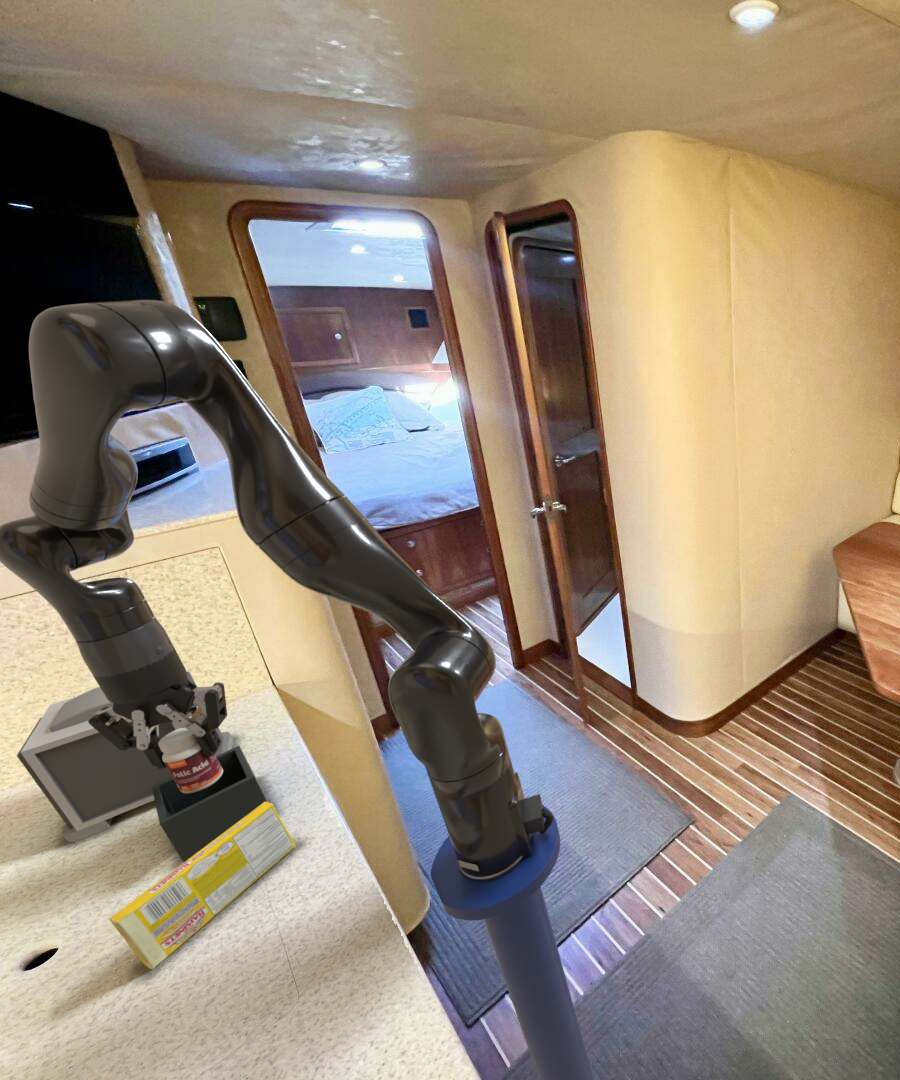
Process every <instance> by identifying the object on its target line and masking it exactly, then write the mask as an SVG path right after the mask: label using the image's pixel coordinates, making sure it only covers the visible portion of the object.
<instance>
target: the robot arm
mask: <svg viewBox="0 0 900 1080" xmlns="http://www.w3.org/2000/svg"><path fill="white" fill-rule="evenodd" d="M28 359H29V369H30V378H31V385H32V396H33V403H34V409H35V410H34V411H35V417H36V424H37V430H38V437H39V454H38V460H37V465H36V468H35V470H34V475H33V478H32V479H33V480H32V484H31V487H30V491H29V497H28V502H29V507H30V510H31V512H32V513H33V515H32V516H28V517H24V518H23V517H22V518H19V519H15V520H11V521H8V522H5V523H3V524H1V525H0V563H1V564H2V565H3V566H4V567H5V568H6V569H8V570H9V571H10V572H11V573H12V574H13V575H15V576H17V578H19V579H20V580H22V581H23V582H24V583H26V584H27V585H28V586H30V588H32V589H33V590H34V591H36V592H37V593H38V594H39V595H40V596H41V597H43V599H44V600H46V602H47V603H48V604H49V605H51V607H52V608H53V609H54V610H55V611H56V612H57V613H58V615H59V616H60V617H61V619H62V621H63V622H64V624H65V626H66V627H67V629H68V631H69V632H70V634H71V636H72V637H73V639H74V641H75V643H76V645H77V647H78V650H79V653H80V656H81V659H82V660H83V662H84V663H85V665H86V667H87V669H88V670H89V671H90V673H91V675H92V676H93V679H94V680H95V682H96V683H97V684H98V687H100V688H101V690H102V691H103V693H104V695H105V696H106V698H107V699H108V701H110V702H112V703H113V706H112V707H103V708H102V709H101V710H100V711H98V712H97V713H96V714H95V715H94V716H93V717H92V718H91V719H90V720H89V721H88V722H89V724H90V725H91V726H92V727H94V728H95V729H96V730H97V731H98V732H99V733H101V734H102V735H103V736H104V737H105V738H106V739H108V740H109V741H110V742H111V743H112V744H113V745H115V746H116V747H117V748H118V749H119V750H123V751H124V750H128V749H129V748H138V749H139V750H143V751H144V753H145V755H146V756H147V758H148V760H149V761H150V763H151V764H152V765H153V766H157V767H158V769H162V768H166V765H165V764H164V762H163V760H162V755H163V752H162V751H161V749H160V747H159V745H158V743H159V741H160V740H161V739H162V738H158V736H159V724H161V723H167V722H174V723H176V724H177V725H178V726H179V727H181V728H187V729H188V730H189V731H191V732H192V733H193V734H194V735H196V736H197V737H196V740H197V742H198V744H199V745H200V747H201V749H202V751H203V753H204V755H205V756H206V757H210V756H213V755H215V753H216V752H217V750H218V749H219V747H220V745H221V742H222V741H221V739H220V737H219V735H218V734H217V732H216V730H215V729H217V728H220V726H221V724H222V723H223V722H224V721H225V719H226V718H227V716H228V709H227V700H226V691H225V685H224V683H222V682H215V683H213V685H212V686H198V685H197V684H196V683H195V684H196V685H195V684H194V683H192V682H191V681H189V679H188V677H187V672H188V671H187V669H186V667H185V665H184V663H183V661H182V659H181V657H180V656H179V654H178V652H177V650H176V648H175V646H174V644H173V643H172V640H171V639H170V636H169V635H168V632H167V631H166V630H165V627H164V626H163V625H162V624H161V623H160V622H159V619H157V618H156V616H155V614H154V612H153V610H152V608H151V607H150V605H149V603H148V600H147V599H146V597H145V595H144V593H143V591H142V590H141V588H140V587H139V585H138V583H137V582H136V581H134V580H133V579H131V578H129V577H109V578H103V579H96V580H91V581H84V582H80V581H79V580H77V579H76V578H75V577H73V575H72V574H71V572H74V571H77V570H80V569H83V568H87V567H89V566H93V565H97V564H100V563H102V562H105V561H108V560H111V559H114V558H117V557H119V556H121V555H122V554H124V553H126V551H128V550H129V549H130V548H131V547H132V545H134V544H133V543H134V541H135V534H134V531H133V528H132V525H131V522H130V516H129V512H128V506H129V504H130V501H131V499H132V496H133V494H134V491H135V489H136V486H137V483H138V477H139V476H138V475H139V469H138V464H137V462H136V459H135V457H134V456H133V454H132V453H131V451H130V450H129V448H127V447H126V446H125V445H124V444H123V443H122V442H121V441H120V440H119V439H117V437H116V436H114V435H113V434H112V433H111V432H112V431H113V428H114V427H115V425H116V424H117V422H119V420H120V419H121V418H122V417H123V416H124V415H125V414H126V413H128V412H134V411H144V410H148V409H149V410H150V409H152V408H156V407H157V408H158V407H160V406H166V405H170V404H174V403H178V402H184V403H185V404H187V406H189V407H190V408H191V409H192V410H193V411H194V412H195V413H197V415H199V417H200V418H201V419H202V420H203V422H204V423H206V425H207V426H208V428H209V429H210V430H211V431H212V433H213V434H214V435H215V437H216V438H217V439H218V441H219V442H220V445H221V446H222V447H223V449H224V452H225V454H226V458H227V460H228V464H229V470H230V479H231V484H232V493H233V497H234V499H233V500H234V504H235V509H236V512H237V513H236V514H237V517H238V520H239V523H240V525H241V527H242V530H243V531H244V533H245V534H246V536H247V538H249V539H250V541H251V542H252V543H253V544H254V545H255V546H256V547H258V549H259V550H260V552H262V553H263V554H264V555H265V556H266V557H267V558H268V559H269V560H270V561H271V562H273V564H274V565H275V566H276V567H278V568H279V570H280V571H281V572H283V574H284V575H286V577H288V578H289V579H290V580H292V581H293V582H294V583H295V584H297V585H299V586H301V587H302V588H305V589H307V590H309V591H311V592H313V593H315V594H319V595H321V596H323V597H326V598H329V599H332V600H335V601H338V602H340V603H343V604H346V605H349V606H352V607H355V608H358V609H360V610H362V611H365V612H367V613H369V614H372V615H373V616H375V617H377V618H379V620H381V621H383V622H384V623H385V624H387V625H388V626H389V627H390V628H392V630H394V631H395V632H396V633H397V634H398V636H400V637H401V638H402V639H403V641H405V642H406V643H407V645H408V646H409V647H410V648H411V649H412V652H411V653H410V654H409V655H408V656H407V657H405V659H404V660H403V661H402V662H401V663H400V664H399V665H398V666H397V668H396V669H394V671H393V672H392V674H391V676H390V678H389V682H388V689H387V691H388V698H389V702H390V703H389V704H390V706H391V710H392V712H393V713H394V716H395V719H396V721H397V723H398V725H399V727H400V730H401V732H402V734H403V736H404V738H405V742H406V744H407V745H408V748H409V750H410V751H411V753H412V754H413V756H414V757H415V758H416V759H417V760H418V761H419V762H420V763H421V764H422V765H423V766H424V768H425V771H426V774H427V776H428V779H429V782H430V785H431V788H432V790H433V794H434V795H435V796H434V797H435V800H436V802H437V805H438V808H439V810H440V814H441V817H442V819H443V822H444V825H445V828H446V830H447V833H448V836H450V839H451V842H452V845H453V848H454V850H455V853H456V856H457V860H458V864H459V867H460V870H461V872H462V874H463V875H464V876H465V877H466V878H467V879H469V880H472V881H476V882H486V881H491V880H494V879H497V878H500V877H502V876H504V875H506V874H507V873H509V872H510V871H512V870H513V869H514V868H515V867H517V866H518V865H519V864H520V863H521V861H522V860H524V859H526V858H528V857H531V856H532V833H536V832H540V833H541V834H544V833H545V832H546V830H547V829H548V828H549V827H550V826H551V824H552V822H553V815H554V814H553V812H552V811H551V810H550V811H551V812H552V813H551V812H550V811H548V810H546V809H545V808H543V805H544V804H543V801H542V797H541V794H540V793H538V794H535V795H532V796H529V797H525V794H524V790H523V787H522V783H521V779H520V776H519V773H518V772H517V771H514V766H513V763H512V760H511V755H510V752H509V748H508V744H507V740H506V736H505V732H504V729H503V726H502V724H501V722H500V721H499V719H498V718H496V716H494V715H492V714H489V713H485V712H478V709H477V706H476V702H477V701H478V699H479V697H480V696H481V694H482V693H483V692H484V690H485V688H486V687H487V686H488V685H489V682H490V681H491V680H492V677H493V675H494V674H495V671H496V668H497V659H496V655H495V654H496V653H495V651H494V649H493V647H492V646H491V644H490V642H489V641H488V640H487V638H486V637H485V636H484V635H483V634H482V632H480V631H479V630H478V629H477V628H476V627H475V626H474V625H473V624H472V623H471V622H470V621H468V620H467V619H466V618H465V617H464V616H463V615H462V614H461V613H459V612H458V611H457V610H456V609H455V608H454V607H453V606H451V604H449V603H448V602H447V601H446V600H445V599H444V598H442V596H440V595H439V594H438V593H437V592H436V591H435V590H433V589H432V587H431V586H429V584H427V583H426V582H425V580H423V579H422V578H421V577H420V576H419V575H418V573H417V572H416V571H415V570H414V569H413V568H412V567H411V566H410V565H409V564H408V563H407V562H406V561H405V560H404V558H403V557H402V556H401V555H400V554H398V552H397V551H396V550H395V549H394V548H393V547H392V546H391V545H390V544H389V543H388V542H387V541H386V540H385V539H384V538H383V537H382V535H381V534H380V533H379V532H378V530H376V529H375V527H374V526H373V524H371V522H370V521H369V520H368V519H367V517H366V516H365V515H364V514H363V513H362V512H361V511H360V510H359V509H358V508H357V506H355V504H354V503H353V502H352V501H351V500H350V499H349V497H347V496H346V495H345V493H344V492H343V491H341V489H339V487H338V486H337V485H335V483H333V481H332V480H331V479H329V477H328V476H327V475H326V474H325V473H324V472H323V470H321V469H320V467H318V465H317V464H316V463H315V462H314V461H313V460H312V459H311V457H310V456H309V455H308V454H307V453H306V452H305V451H304V449H303V448H302V447H301V446H300V445H299V443H297V441H296V440H295V439H294V438H293V436H292V435H291V434H290V433H289V432H288V430H286V429H285V427H284V426H283V425H282V424H281V423H280V422H279V420H278V419H277V418H276V417H275V415H274V414H273V413H272V411H271V410H270V408H268V406H267V404H265V401H263V399H262V398H261V397H260V396H259V394H258V393H257V392H256V390H255V389H254V388H253V386H252V385H251V383H250V382H249V381H248V380H247V378H246V377H245V375H244V374H243V373H242V372H241V370H240V369H239V368H238V367H237V365H236V364H235V362H234V361H233V360H232V358H231V357H230V356H229V355H228V353H227V352H226V351H225V349H224V348H223V347H222V346H221V344H220V343H219V341H218V340H217V339H216V338H215V337H214V336H213V335H212V334H211V333H210V332H209V331H208V329H206V327H204V325H203V324H202V323H201V322H200V321H198V320H197V319H196V318H195V317H194V316H192V315H191V314H190V313H188V312H187V311H186V310H184V309H182V308H181V307H179V306H177V305H176V304H173V303H170V302H167V301H164V300H157V299H132V300H113V301H112V300H111V301H97V302H96V301H95V302H83V303H73V304H72V303H71V304H64V305H58V306H53V307H48V308H47V309H44V310H43V311H41V312H40V313H39V314H37V316H36V317H35V318H34V319H33V321H32V324H31V326H30V331H29V338H28ZM195 697H198V698H200V700H201V704H205V706H206V714H207V715H206V714H205V713H204V710H203V708H202V707H201V706H200V705H199V704H198V703H196V702H195V701H194V699H195ZM187 712H188V715H187V716H185V714H186V713H187ZM122 716H123V717H125V718H127V719H130V720H132V721H133V726H131V725H130V724H129V723H128V722H127V721H126V720H125V719H124V718H122ZM122 734H123V735H124V736H125V737H126V738H125V737H124V736H123V735H122ZM552 814H553V815H552ZM544 818H546V821H545V822H544Z"/></svg>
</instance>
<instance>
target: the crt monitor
mask: <svg viewBox="0 0 900 1080" xmlns="http://www.w3.org/2000/svg"><path fill="white" fill-rule="evenodd" d="M186 672H187V677H188V679H189V681H191V682H192V683H194V684H195V685H196V686H197V684H196V682H195V680H194V678H193V676H192V673H191V672H190V671H186ZM194 701H195V702H196V703H198V704H199V705H200V706H201V707H202V708H203V710H204V713H205V714H206V706H205V704H201V700H200V698H198V697H195V699H194ZM112 706H113V703H112V702H110V701H108V699H107V698H106V696H105V695H104V693H103V691H102V690H101V688H100V686H98V687H95V688H92V689H91V690H88V691H85V692H84V693H81V694H79V695H77V696H74V697H71V698H68V699H64V700H61V701H57V702H55V703H51V704H49V705H48V707H47V708H46V710H45V712H44V714H43V715H42V716H41V717H40V718H39V719H38V721H37V723H36V724H35V726H34V727H33V729H32V731H31V732H30V734H29V735H28V737H27V738H26V740H25V741H24V743H23V745H22V746H21V748H20V750H19V751H18V752H17V754H16V757H17V759H18V760H19V761H20V763H21V764H22V765H23V767H24V769H26V771H27V773H28V774H29V775H30V777H31V778H32V779H33V781H34V782H35V783H36V785H37V786H38V787H39V789H40V790H41V792H42V793H43V794H44V796H45V797H46V799H47V801H49V803H50V804H51V805H52V807H53V809H54V810H55V811H56V812H57V814H58V815H59V817H60V818H61V819H62V821H63V822H64V823H65V824H64V826H63V829H62V831H61V835H62V836H63V838H64V839H65V840H66V842H68V843H69V844H70V843H71V844H72V843H76V842H79V841H82V840H83V839H86V838H89V837H91V836H93V835H96V834H98V833H101V832H103V831H105V830H108V829H110V827H111V824H112V822H113V818H114V817H116V816H119V815H122V814H124V813H126V812H128V811H131V810H134V809H136V808H138V807H141V806H144V805H146V804H149V803H152V802H153V801H154V802H155V800H154V796H153V791H152V786H153V785H155V784H157V783H160V782H162V781H164V780H166V779H168V778H170V777H172V776H171V774H170V772H169V770H168V769H167V767H166V768H162V769H158V767H157V766H153V765H152V764H151V763H150V761H149V760H148V758H147V756H146V755H145V753H144V751H143V750H139V749H138V748H129V749H128V750H124V751H123V750H119V749H118V748H117V747H116V746H115V745H113V744H112V743H111V742H110V741H109V740H108V739H106V738H105V737H104V736H103V735H102V734H101V733H99V732H98V731H97V730H96V729H95V728H94V727H92V726H91V725H90V724H89V722H88V721H89V720H90V719H91V718H92V717H93V716H94V715H95V714H96V713H97V712H98V711H100V710H101V709H102V708H103V707H112ZM187 715H188V712H187V713H186V714H185V716H187ZM206 715H207V714H206ZM122 718H124V719H125V720H126V721H127V722H128V723H129V724H130V725H131V726H133V721H132V720H130V719H127V718H125V717H123V716H122ZM180 728H181V727H179V726H178V725H177V724H176V723H174V722H167V723H161V724H159V736H158V738H163V737H164V736H165V735H167V734H169V733H170V732H173V731H175V730H177V729H180ZM215 730H216V732H217V734H218V735H219V737H220V739H221V741H222V742H221V745H220V747H219V749H218V750H217V752H216V753H215V755H216V756H218V755H220V754H222V753H224V752H226V751H228V750H230V749H233V747H234V746H233V743H234V739H233V736H232V734H231V732H229V731H221V729H220V727H218V728H217V729H215ZM122 735H123V734H122ZM123 736H124V735H123ZM124 737H125V736H124ZM125 738H126V737H125Z"/></svg>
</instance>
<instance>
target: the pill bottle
mask: <svg viewBox="0 0 900 1080" xmlns="http://www.w3.org/2000/svg"><path fill="white" fill-rule="evenodd" d="M196 737H197V736H196V735H194V734H193V733H192V732H191V731H189V730H188V729H187V728H180V729H177V730H175V731H173V732H170V733H169V734H167V735H165V736H164V737H163V738H162V739H161V740H160V741H159V743H158V745H159V747H160V749H161V751H162V752H163V755H162V760H163V762H164V764H165V765H166V767H167V769H168V770H169V772H170V774H171V776H172V777H173V779H174V781H175V782H176V784H177V786H178V788H179V789H180V791H181V792H182V793H194V792H197V791H200V790H203V789H205V788H207V787H209V786H211V785H212V784H214V783H215V782H216V781H217V780H218V779H219V778H220V777H221V776H222V774H223V769H222V767H221V765H220V763H219V761H218V759H217V757H216V755H213V756H210V757H206V756H205V755H204V753H203V751H202V749H201V747H200V745H199V744H198V742H197V740H196Z"/></svg>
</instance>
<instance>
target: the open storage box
mask: <svg viewBox="0 0 900 1080" xmlns="http://www.w3.org/2000/svg"><path fill="white" fill-rule="evenodd" d="M216 757H217V759H218V761H219V763H220V765H221V767H222V769H223V774H222V776H221V777H220V778H219V779H218V780H217V781H216V782H215V783H214V784H212V785H211V786H209V787H207V788H205V789H203V790H200V791H197V792H194V793H182V792H181V791H180V789H179V788H178V786H177V784H176V782H175V781H174V779H173V777H170V778H168V779H166V780H164V781H162V782H160V783H157V784H155V785H153V786H152V791H153V796H154V804H155V808H156V809H155V810H156V813H157V818H158V823H159V826H160V827H161V829H162V830H163V832H164V833H165V835H166V837H167V838H168V840H169V841H170V843H171V845H172V846H173V848H174V849H175V851H176V853H177V854H178V856H179V858H180V859H181V861H182V862H183V863H184V862H185V861H187V860H188V859H189V858H191V857H192V856H193V855H195V854H196V853H197V852H199V851H200V850H201V849H203V848H204V847H205V846H207V845H208V844H209V843H211V842H212V841H213V840H215V839H216V838H217V837H219V836H220V835H221V834H223V833H224V832H225V831H227V830H228V829H229V828H230V827H232V826H233V825H234V824H236V823H237V822H238V821H240V820H241V819H242V818H244V817H245V816H246V815H248V814H249V813H250V812H252V811H253V810H254V809H256V808H257V807H258V806H260V805H261V804H262V803H264V802H268V800H267V798H266V796H265V793H264V791H263V789H262V787H261V785H260V783H259V780H258V779H257V777H256V775H255V773H254V770H253V769H252V767H251V765H250V764H249V762H248V759H247V757H246V755H245V754H244V752H243V749H242V748H241V746H240V745H237V746H235V747H232V749H230V750H228V751H226V752H224V753H222V754H220V755H218V756H216Z"/></svg>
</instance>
